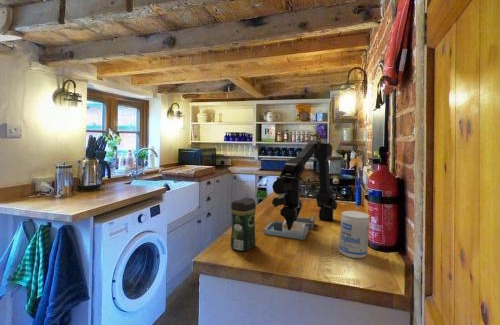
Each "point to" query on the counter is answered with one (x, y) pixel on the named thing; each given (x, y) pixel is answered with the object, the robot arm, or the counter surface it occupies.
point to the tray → (270, 231)
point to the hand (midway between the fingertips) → (291, 226)
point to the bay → (307, 221)
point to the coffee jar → (243, 224)
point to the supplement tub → (354, 234)
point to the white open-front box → (298, 228)
